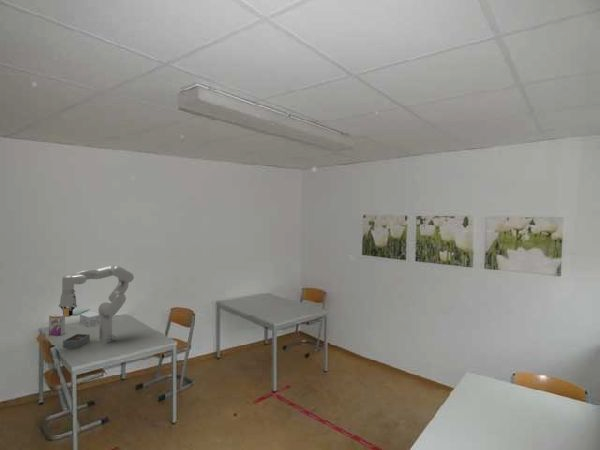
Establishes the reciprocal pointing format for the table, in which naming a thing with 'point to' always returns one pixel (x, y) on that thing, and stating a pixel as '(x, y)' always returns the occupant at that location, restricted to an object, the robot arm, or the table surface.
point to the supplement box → (89, 318)
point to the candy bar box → (56, 325)
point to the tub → (76, 344)
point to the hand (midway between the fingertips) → (67, 315)
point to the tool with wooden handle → (74, 312)
